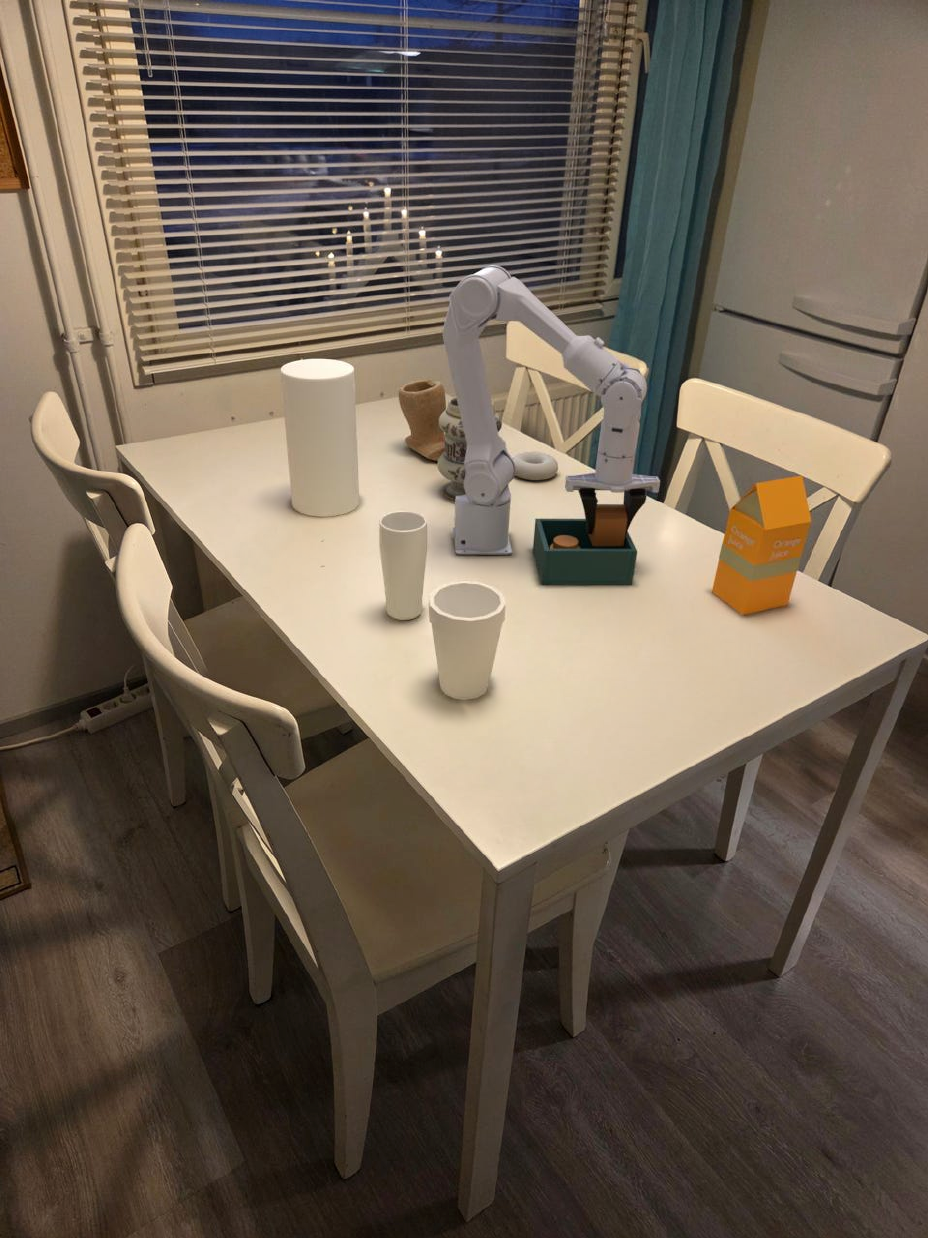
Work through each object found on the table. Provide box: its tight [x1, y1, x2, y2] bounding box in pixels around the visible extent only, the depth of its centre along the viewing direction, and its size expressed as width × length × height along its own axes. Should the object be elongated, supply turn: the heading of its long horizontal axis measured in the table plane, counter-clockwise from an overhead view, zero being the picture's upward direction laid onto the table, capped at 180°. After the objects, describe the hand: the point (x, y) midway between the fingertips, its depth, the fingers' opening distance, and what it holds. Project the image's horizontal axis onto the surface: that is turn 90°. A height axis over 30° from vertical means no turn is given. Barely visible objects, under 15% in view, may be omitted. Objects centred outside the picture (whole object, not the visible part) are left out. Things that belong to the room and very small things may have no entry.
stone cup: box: [398, 379, 447, 462], centre depth 174 cm, size 15×12×15 cm
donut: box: [512, 451, 559, 481], centre depth 169 cm, size 10×4×10 cm
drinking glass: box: [378, 510, 428, 621], centre depth 119 cm, size 7×7×15 cm
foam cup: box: [428, 580, 507, 701], centre depth 104 cm, size 10×9×13 cm
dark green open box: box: [532, 518, 638, 586], centre depth 135 cm, size 15×12×6 cm
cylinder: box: [280, 358, 360, 518], centre depth 148 cm, size 12×12×25 cm
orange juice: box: [711, 475, 812, 616], centre depth 124 cm, size 8×9×20 cm
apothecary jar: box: [436, 396, 503, 502], centre depth 156 cm, size 12×12×18 cm
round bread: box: [550, 535, 580, 549], centre depth 134 cm, size 5×5×5 cm
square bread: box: [588, 503, 627, 546], centre depth 133 cm, size 5×5×6 cm
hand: (605, 531), depth 133 cm, fingers closed on square bread, 5 cm apart
